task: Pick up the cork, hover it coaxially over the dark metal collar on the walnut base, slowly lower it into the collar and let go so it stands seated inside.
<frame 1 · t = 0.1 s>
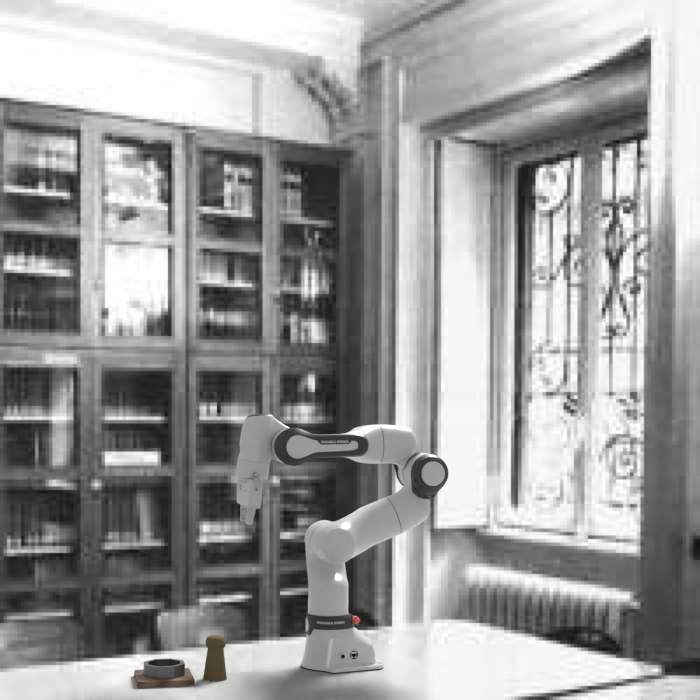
hand: (246, 523, 295), 39 cm above the table, tool pointing down, fingers open, 8 cm apart
cork: (214, 679, 281), on the table
walnut base: (163, 680, 277), on the table
metal collar: (164, 668, 278), on the walnut base, point 3 cm above the table
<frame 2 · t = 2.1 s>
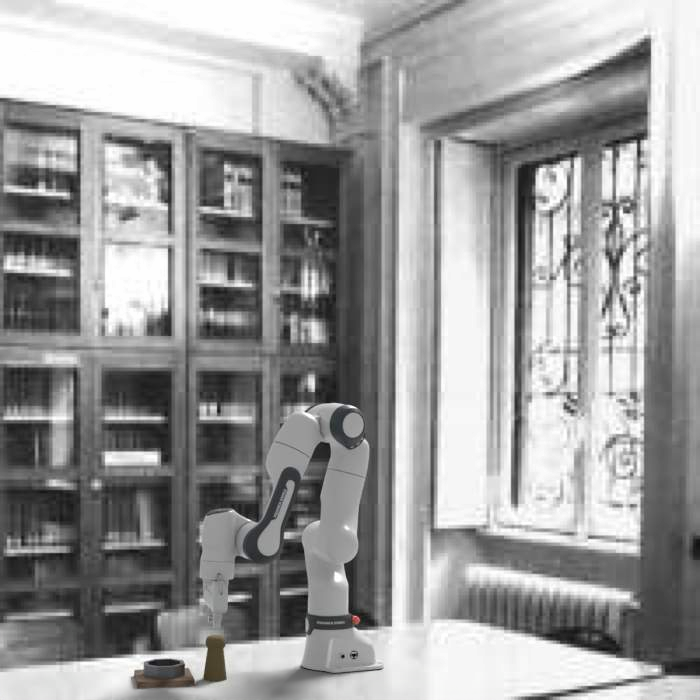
hand: (214, 625, 281), 13 cm above the table, tool pointing down, fingers open, 8 cm apart
nothing on the table moved.
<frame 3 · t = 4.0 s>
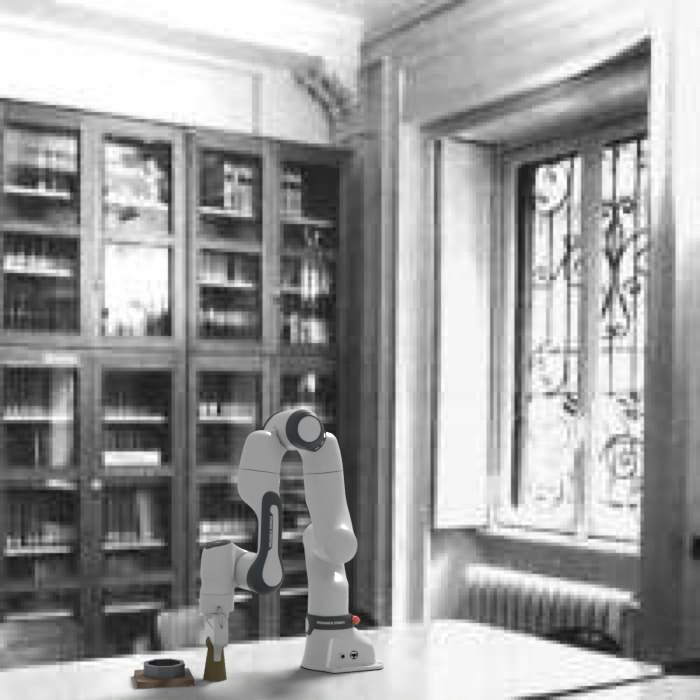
hand: (215, 658, 281), 5 cm above the table, tool pointing down, fingers closed on cork, 4 cm apart
cork: (214, 679, 281), on the table, touching gripper
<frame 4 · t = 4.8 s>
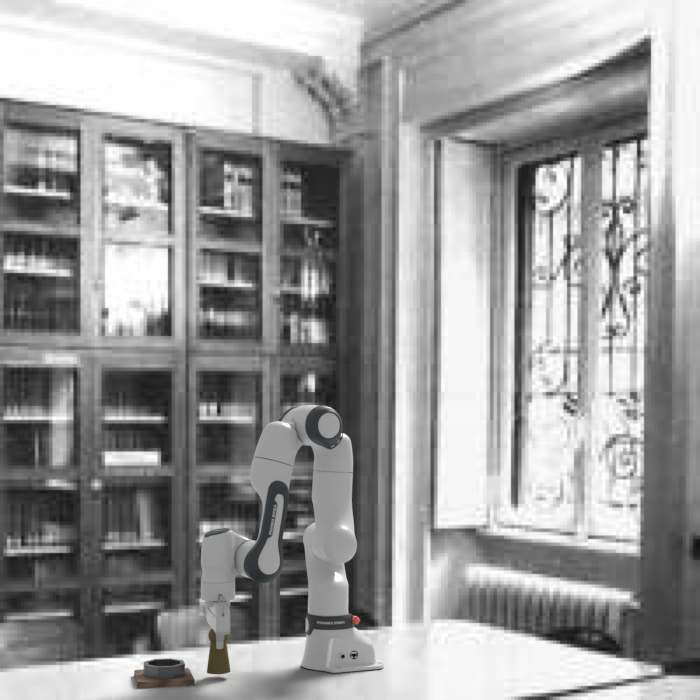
hand: (218, 646, 282), 8 cm above the table, tool pointing down, fingers closed on cork, 4 cm apart
cork: (218, 672, 281), point 2 cm above the table, touching gripper
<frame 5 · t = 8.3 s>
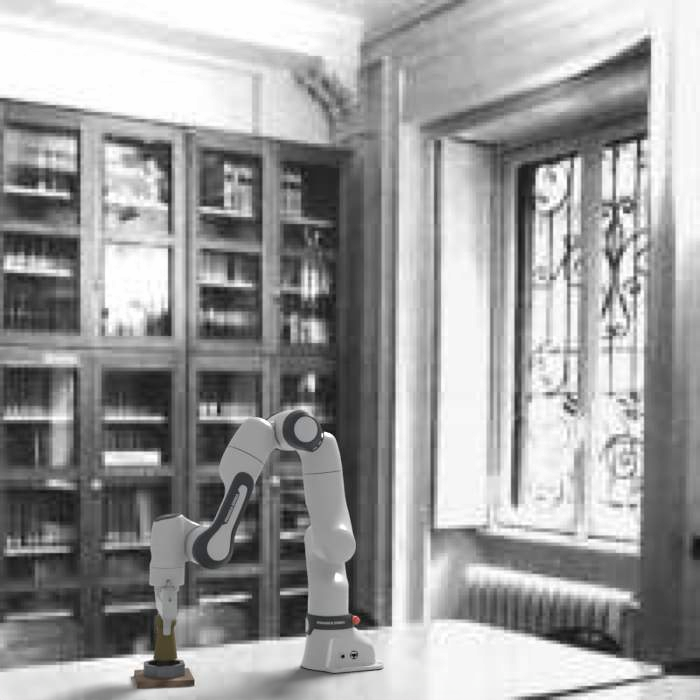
hand: (165, 632, 278), 12 cm above the table, tool pointing down, fingers closed on cork, 4 cm apart
cork: (165, 658, 278), point 5 cm above the table, touching gripper
when the fingers open (8 cm above the table, at t = 9.7 s): cork stays where it is, resting on walnut base.
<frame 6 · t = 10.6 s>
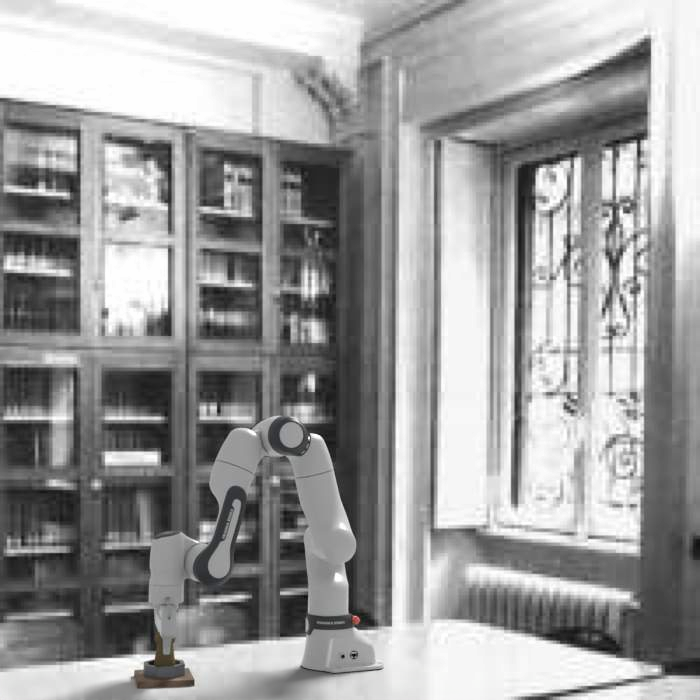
hand: (164, 650, 278), 8 cm above the table, tool pointing down, fingers open, 8 cm apart
cork: (164, 675, 278), point 1 cm above the table, touching walnut base
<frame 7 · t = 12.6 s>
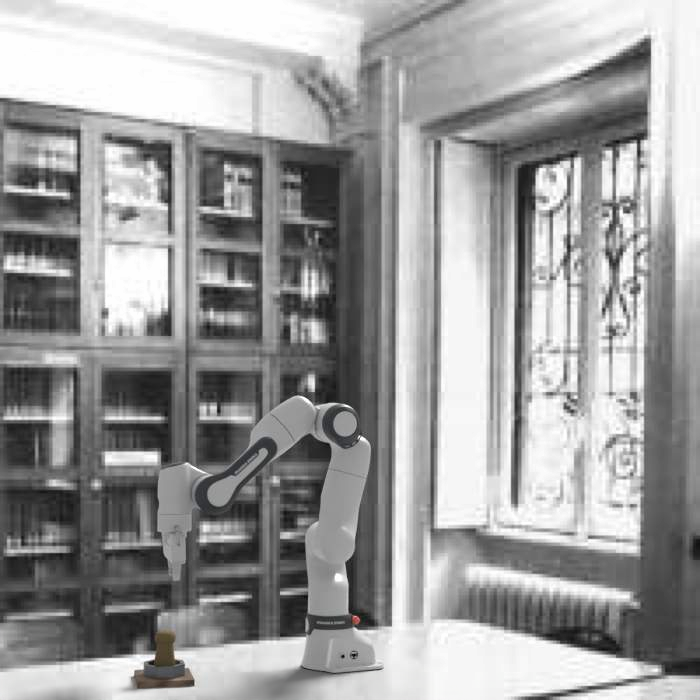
hand: (174, 578, 284), 25 cm above the table, tool pointing down, fingers open, 8 cm apart
nothing on the table moved.
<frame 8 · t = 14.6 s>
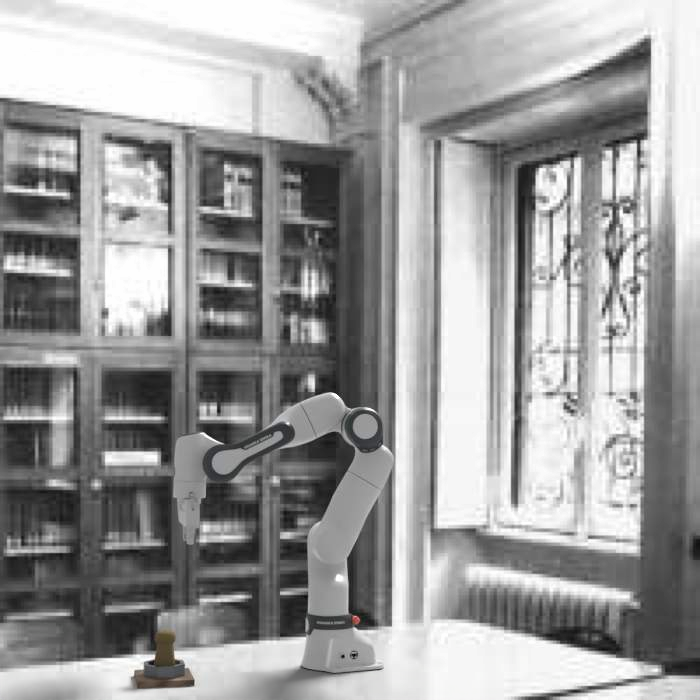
hand: (188, 542, 297), 33 cm above the table, tool pointing down, fingers open, 8 cm apart
nothing on the table moved.
at the end: cork 0.1 cm off-centre on the metal collar, point 1.3 cm above the metal collar's base; cork tilted 0°; the gripper is holding nothing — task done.
